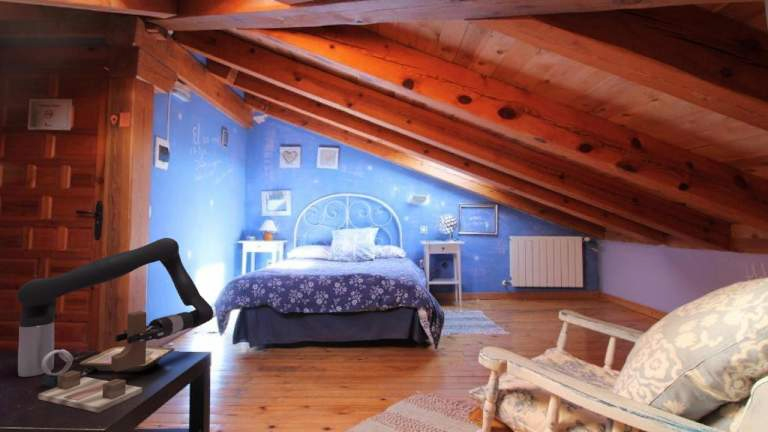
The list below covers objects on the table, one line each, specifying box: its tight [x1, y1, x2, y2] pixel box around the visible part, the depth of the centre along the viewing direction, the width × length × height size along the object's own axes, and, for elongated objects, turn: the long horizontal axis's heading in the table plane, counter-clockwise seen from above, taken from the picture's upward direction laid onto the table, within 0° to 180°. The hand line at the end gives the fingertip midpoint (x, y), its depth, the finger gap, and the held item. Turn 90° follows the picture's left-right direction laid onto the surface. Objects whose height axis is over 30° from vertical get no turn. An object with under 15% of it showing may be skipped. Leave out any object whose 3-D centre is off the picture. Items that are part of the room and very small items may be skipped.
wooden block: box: [110, 310, 147, 373], centre depth 125 cm, size 9×4×18 cm, turn 144°
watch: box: [41, 348, 74, 389], centre depth 122 cm, size 6×8×11 cm
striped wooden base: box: [37, 370, 143, 414], centre depth 113 cm, size 26×13×6 cm, turn 72°
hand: (122, 339), depth 123 cm, fingers closed on wooden block, 4 cm apart
